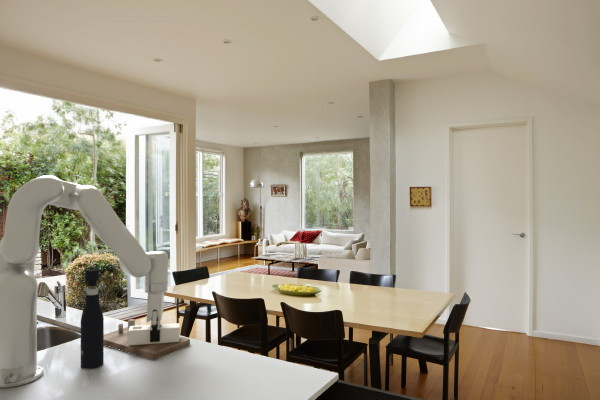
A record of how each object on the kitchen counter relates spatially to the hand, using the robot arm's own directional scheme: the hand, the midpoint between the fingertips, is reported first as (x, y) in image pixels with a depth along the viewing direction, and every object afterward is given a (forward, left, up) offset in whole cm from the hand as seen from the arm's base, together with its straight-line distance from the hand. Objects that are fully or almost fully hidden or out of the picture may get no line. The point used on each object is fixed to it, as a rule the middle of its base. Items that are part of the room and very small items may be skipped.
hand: (155, 338), depth 144 cm
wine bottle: (-10, +18, -4) cm, 21 cm away
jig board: (+5, +4, -3) cm, 8 cm away
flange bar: (0, 0, -1) cm, 1 cm away
